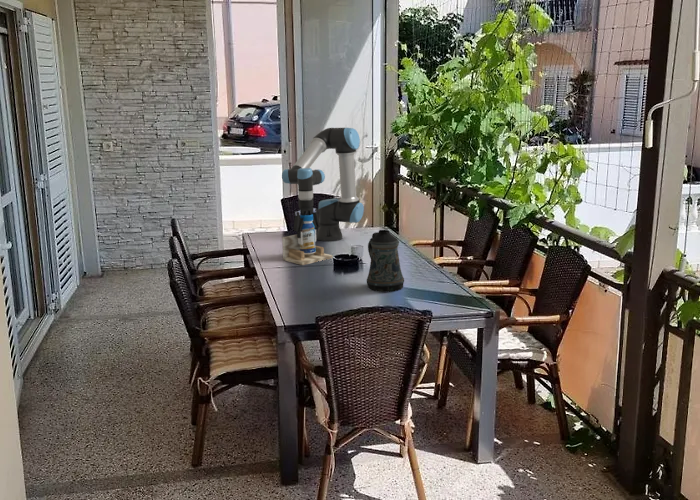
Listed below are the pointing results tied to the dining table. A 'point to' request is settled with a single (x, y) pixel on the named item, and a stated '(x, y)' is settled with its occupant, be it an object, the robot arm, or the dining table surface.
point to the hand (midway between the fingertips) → (307, 242)
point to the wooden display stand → (301, 252)
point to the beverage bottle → (308, 235)
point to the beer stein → (384, 263)
